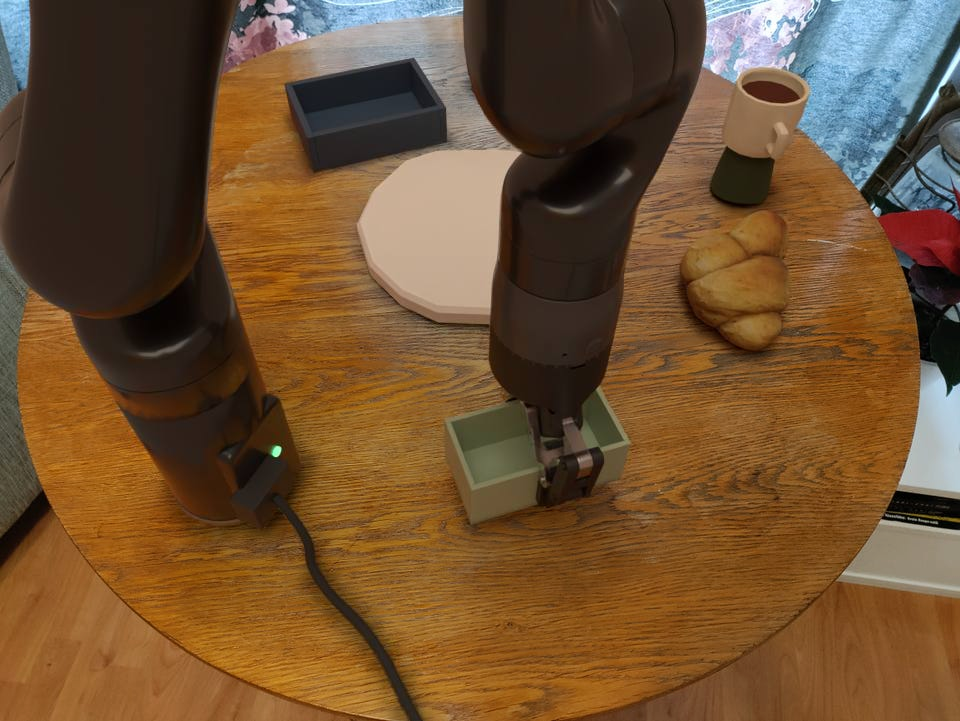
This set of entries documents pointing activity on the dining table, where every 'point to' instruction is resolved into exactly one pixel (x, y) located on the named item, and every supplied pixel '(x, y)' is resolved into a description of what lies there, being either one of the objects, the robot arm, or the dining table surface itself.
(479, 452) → the small bin
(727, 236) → the bread roll
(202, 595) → the dining table surface
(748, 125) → the character mug
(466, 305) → the decorative plate
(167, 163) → the robot arm
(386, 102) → the big bin
